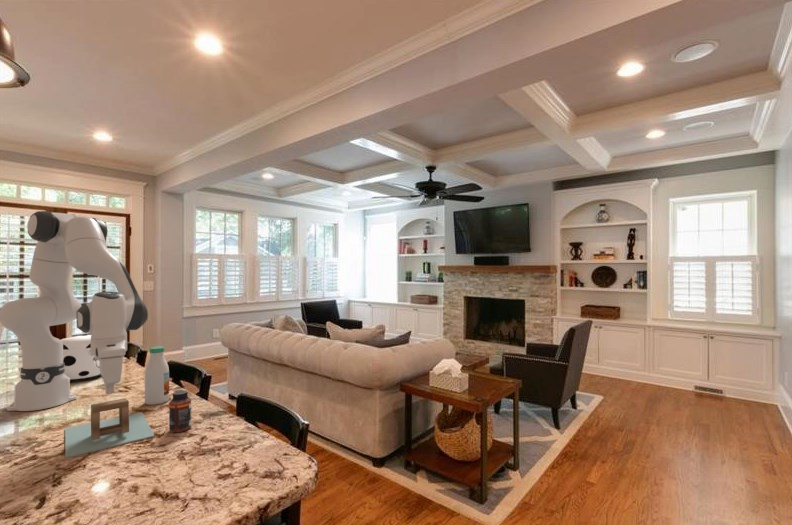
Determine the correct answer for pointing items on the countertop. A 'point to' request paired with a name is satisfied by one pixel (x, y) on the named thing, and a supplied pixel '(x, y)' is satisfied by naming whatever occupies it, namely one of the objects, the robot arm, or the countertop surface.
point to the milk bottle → (156, 378)
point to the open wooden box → (122, 426)
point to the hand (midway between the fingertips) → (109, 392)
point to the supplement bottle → (180, 412)
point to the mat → (105, 436)
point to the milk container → (79, 358)
